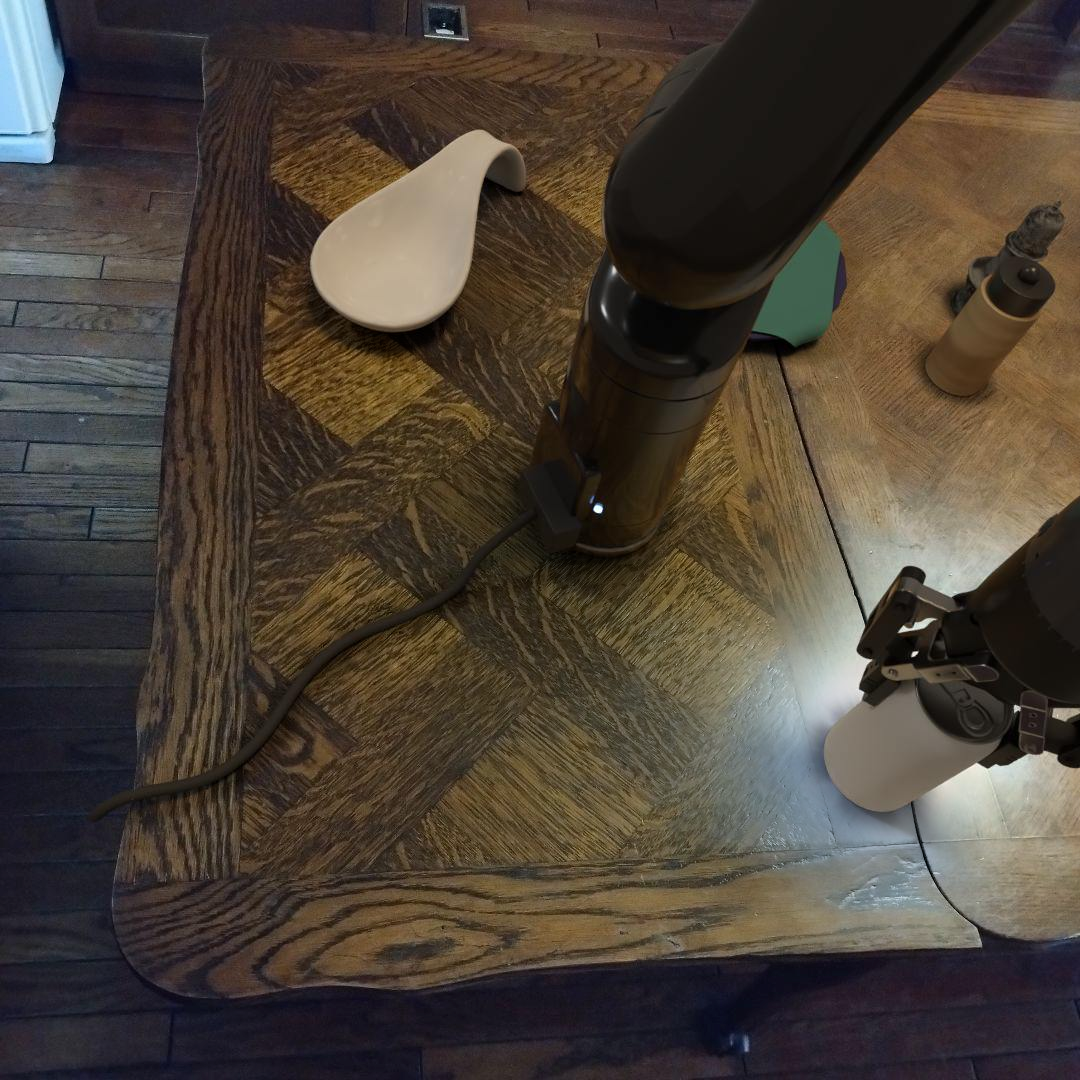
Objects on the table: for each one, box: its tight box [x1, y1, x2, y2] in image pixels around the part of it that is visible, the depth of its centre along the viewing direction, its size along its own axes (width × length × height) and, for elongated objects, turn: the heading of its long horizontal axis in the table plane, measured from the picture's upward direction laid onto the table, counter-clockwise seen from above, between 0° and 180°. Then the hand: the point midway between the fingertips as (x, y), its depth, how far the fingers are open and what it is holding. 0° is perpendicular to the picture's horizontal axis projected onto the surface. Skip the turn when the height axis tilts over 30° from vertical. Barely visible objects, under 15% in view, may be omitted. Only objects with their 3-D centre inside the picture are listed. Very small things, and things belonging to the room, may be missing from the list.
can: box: [823, 655, 1015, 813], centre depth 58 cm, size 6×6×12 cm
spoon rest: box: [309, 129, 527, 333], centre depth 78 cm, size 24×12×7 cm, turn 152°
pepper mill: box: [924, 257, 1056, 397], centre depth 78 cm, size 5×5×12 cm
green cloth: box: [747, 219, 848, 348], centre depth 87 cm, size 20×30×2 cm, turn 165°
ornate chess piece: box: [950, 200, 1066, 317], centre depth 82 cm, size 6×6×12 cm
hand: (927, 720), depth 57 cm, fingers closed on can, 6 cm apart
